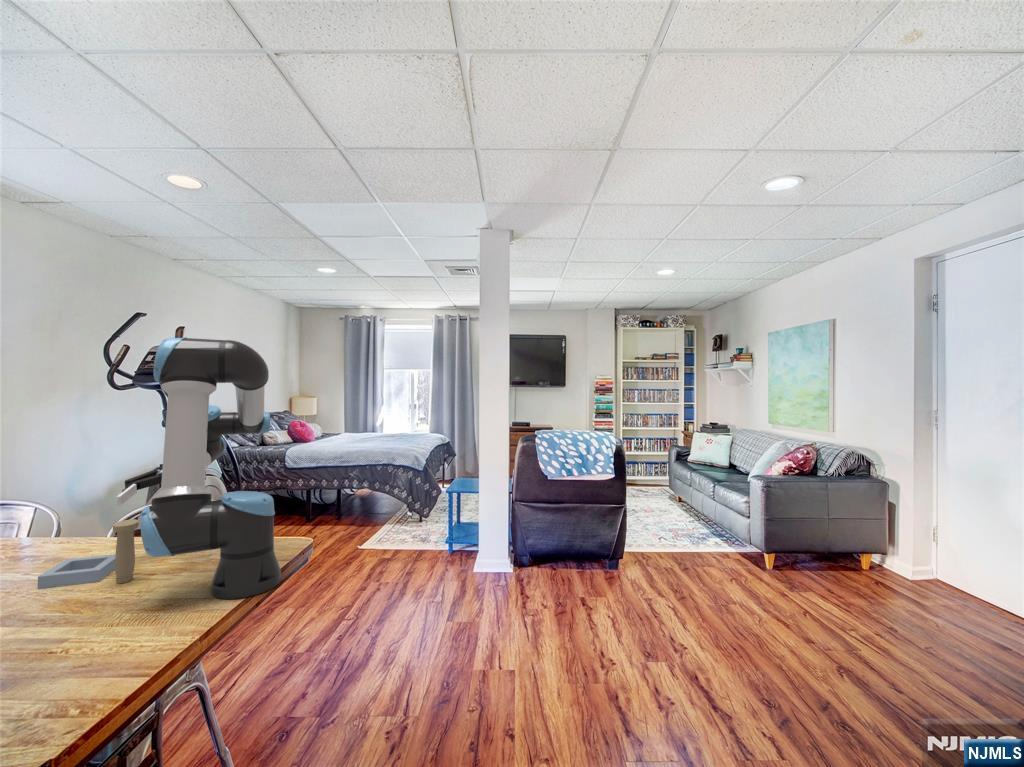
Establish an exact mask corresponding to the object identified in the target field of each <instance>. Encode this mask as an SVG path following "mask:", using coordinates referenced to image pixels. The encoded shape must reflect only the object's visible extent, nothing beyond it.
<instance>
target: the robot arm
mask: <svg viewBox="0 0 1024 767" xmlns="http://www.w3.org/2000/svg"><path fill="white" fill-rule="evenodd" d="M155 352H156V353H155V357H154V362H153V378H154V381H156V382H157V383H159V384H160V389H161V390H162V391H164V392H165V393H166V394H167V402H166V403H167V404H166V406H167V407H166V415H165V416H166V417H165V418H166V419H165V430H164V442H163V443H164V445H163V456H162V467H161V466H159V467H158V466H157V467H155V468H154V469H152V470H150V471H146V472H145V473H142V474H139V475H136V476H133V477H131V478H128V479H125V480H124V488H123V489H122V490H121V492H120V493H119V494H118V495H116V505H117V506H119V507H120V506H122V505H123V504H124V503H125V502H127V501H128V500H130V499H131V498H132V497H133V496H134V495H136V494H137V493H138V491H139V490H143V489H146V488H150V487H154V486H156V485H160V490H159V492H157V493H156V494H155V495H153V497H152V498H151V505H148V506H146V507H143V508H142V510H141V513H140V515H141V516H140V536H141V541H142V545H143V548H144V551H145V553H146V554H147V555H148V556H150V557H153V558H161V557H167V556H168V557H175V556H177V555H185V554H191V553H198V552H199V553H200V552H204V551H205V552H206V551H213V550H218V549H219V562H218V564H217V566H216V570H215V572H214V574H213V578H212V580H211V583H210V594H211V595H212V597H214V598H216V599H221V600H222V599H224V600H233V599H234V600H235V599H236V600H237V599H243V598H248V597H252V596H253V597H254V596H256V595H260V594H262V593H265V592H267V591H269V590H271V589H273V588H275V587H276V586H277V585H278V584H280V582H281V580H282V570H281V567H280V565H279V561H278V559H277V556H276V554H275V553H276V552H275V549H274V548H275V546H274V544H275V543H274V542H275V540H274V539H275V535H274V534H275V525H274V524H275V521H274V520H275V515H276V511H275V502H274V501H275V500H274V498H273V496H272V495H270V494H268V493H265V492H261V491H252V490H249V491H248V490H235V491H228V492H224V493H223V494H222V495H221V496H220V498H219V499H218V500H217V499H215V500H212V492H210V490H208V489H207V488H206V479H207V474H206V473H207V471H206V469H207V468H208V467H209V466H210V465H211V464H212V463H213V462H214V461H215V460H217V459H218V458H220V457H221V456H222V454H223V453H224V452H225V451H226V449H227V441H226V440H225V438H224V437H223V435H224V436H225V435H228V436H229V435H259V434H267V433H269V432H270V430H271V413H270V412H269V411H265V387H266V384H267V383H268V381H269V378H270V377H269V376H270V375H269V373H270V372H269V367H268V365H267V363H266V361H265V359H264V358H263V357H262V356H261V354H259V352H258V351H256V350H255V349H254V348H252V347H250V346H249V345H247V344H245V343H243V342H240V341H236V340H232V339H226V340H225V339H212V338H211V339H209V338H208V339H206V338H195V337H194V338H190V337H184V336H183V337H167V338H165V339H164V340H162V341H161V342H160V343H159V345H158V347H157V350H156V351H155ZM227 383H228V384H229V383H230V384H232V385H233V386H234V388H235V397H236V398H235V399H236V410H237V412H235V411H234V412H233V411H230V412H227V411H225V412H222V410H221V408H220V407H219V406H217V405H212V404H210V395H212V394H213V393H214V392H216V390H217V384H227Z"/></svg>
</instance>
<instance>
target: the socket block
mask: <svg viewBox="0 0 1024 767" xmlns="http://www.w3.org/2000/svg"><path fill="white" fill-rule="evenodd" d="M115 555H116V553H115V554H107V555H98V556H87V557H79V558H78V557H77V558H68V559H66V558H65V560H63V561H62V562H60V563H58V564H56V565H55V566H53V567H52V568H50V569H48V570H47V571H45V572H43V573H42V574H40V575H38V576H37V590H42V589H47V588H49V589H50V588H56V587H57V588H59V587H65V586H66V585H67V586H74V585H83V584H91V583H97V582H98V583H99V582H101V581H102V580H103V579H104V578H106V577H107V576H109V575H110V574H111V573H112V572H114V571H115Z"/></svg>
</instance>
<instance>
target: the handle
mask: <svg viewBox="0 0 1024 767" xmlns="http://www.w3.org/2000/svg"><path fill="white" fill-rule="evenodd" d="M138 528H139V520H138V519H135V518H133V519H125V520H120V521H117V522H115V523H113V524H112V531H113V532H116V545H115V546H116V547H115V554H116V555H115V554H114V555H115V570H114V571H115V582H116V583H118V584H124V583H129V582H130V581H132V580H133V579H134V572H135V562H136V552H135V551H136V550H135V530H137V529H138Z"/></svg>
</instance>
